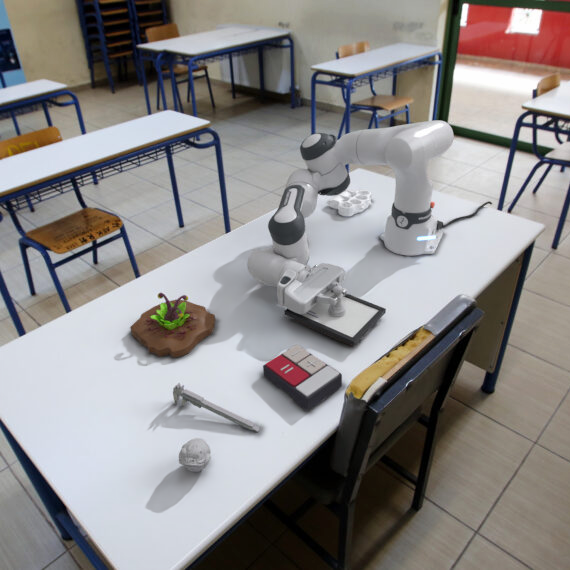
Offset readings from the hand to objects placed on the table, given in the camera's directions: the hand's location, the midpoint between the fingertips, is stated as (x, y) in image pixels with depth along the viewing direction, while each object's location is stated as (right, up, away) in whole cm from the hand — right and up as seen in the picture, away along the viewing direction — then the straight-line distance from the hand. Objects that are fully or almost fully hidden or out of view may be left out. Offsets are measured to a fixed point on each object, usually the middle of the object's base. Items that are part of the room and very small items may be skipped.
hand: (340, 297), depth 128 cm
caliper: (-29, -25, -21) cm, 44 cm away
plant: (-44, -9, +4) cm, 45 cm away
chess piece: (-1, -4, +3) cm, 5 cm away
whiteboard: (-1, -6, +5) cm, 8 cm away
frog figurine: (-32, -32, -31) cm, 55 cm away
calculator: (-10, -19, -13) cm, 25 cm away
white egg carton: (+11, +33, +62) cm, 71 cm away
